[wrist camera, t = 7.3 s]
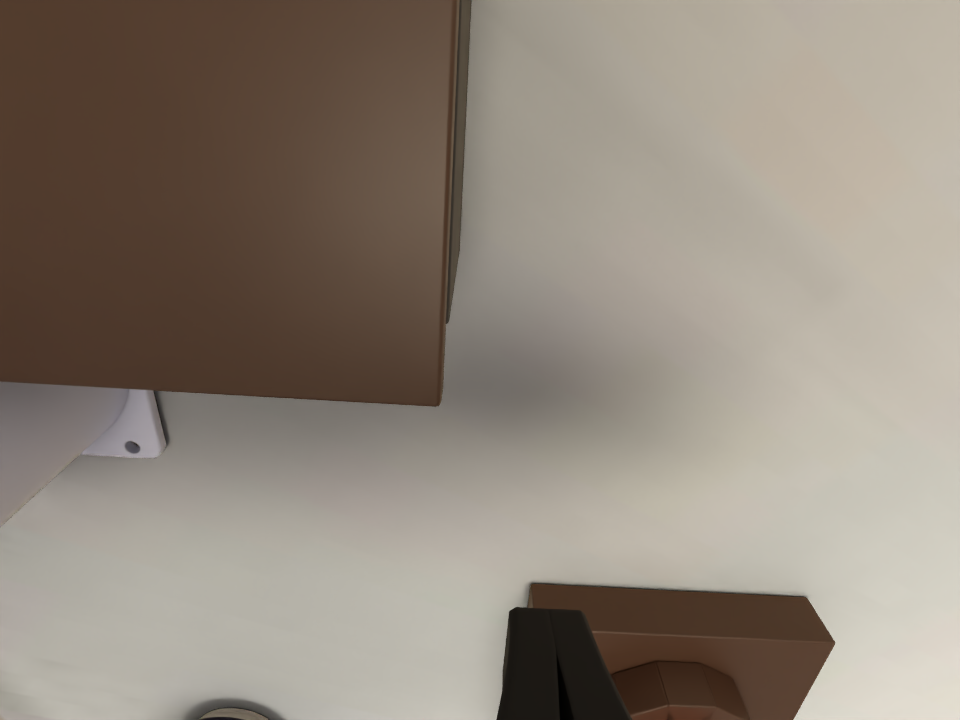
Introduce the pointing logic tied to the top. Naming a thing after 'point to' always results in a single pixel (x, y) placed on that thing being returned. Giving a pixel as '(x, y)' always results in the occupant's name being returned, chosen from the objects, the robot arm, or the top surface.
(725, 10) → the top surface
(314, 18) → the brown box lid
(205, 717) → the beverage can
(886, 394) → the top surface
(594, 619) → the panel
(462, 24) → the dark gray box
